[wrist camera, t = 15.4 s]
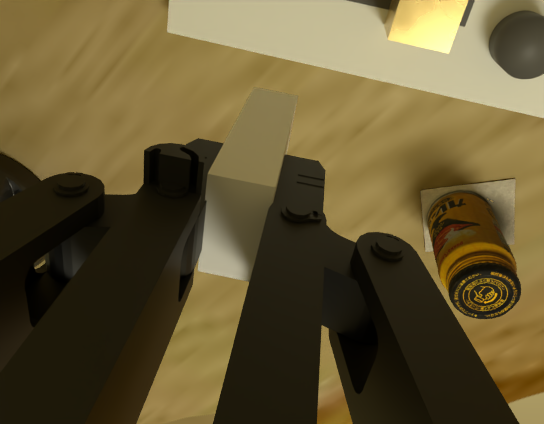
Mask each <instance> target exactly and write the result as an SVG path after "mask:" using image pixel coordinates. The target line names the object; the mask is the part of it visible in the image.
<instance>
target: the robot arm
mask: <svg viewBox="0 0 544 424" xmlns="http://www.w3.org/2000/svg"><path fill="white" fill-rule="evenodd" d="M297 98H298V96H297V95H292V94H287V93H282V92H277V91H272V90H267V89H262V88H256V87H254V88H253V90H252V92H251V94H250V96H249V97H248V99H247V101H246V103H245V105H244V107H243V109H242V110H241V112H240V114H239V116H238V118H237V120H236V122H235V124H234V125H233V127H232V129H231V131H230V133H229V135H228V137H227V138H226V140H225V142H224V143H219V142H214V141H209V140H204V139H199V138H198V139H196V140H194V141H192V142H190V143H188V144H186V145H182V144H173V143H167V144H158V145H154V146H150V147H149V148H147V149H146V150H144V184H143V185H142V187H141V188H140V189H139V191H138V192H137V193H136V194H132V195H107V194H105V192H104V184H103V183H102V182H101V180H99V179H97V178H96V177H94V176H91V175H87V174H83V173H77V172H76V173H74V172H68V173H64V174H57V175H54V176H51V177H49V178H46V179H44V180H42V181H39V180H38V179H37V178H36V177H35V176H34V175H33V174H32V173H31V172H30V171H28V170H27V169H26V168H25V167H23V166H22V165H20V164H19V163H17V162H15V161H13V160H12V159H10V158H8V157H5V156H3V155H1V154H0V424H136V423H137V420H138V418H139V415H140V413H141V410H142V408H143V405H144V403H145V401H146V398H147V396H148V393H149V391H150V388H151V386H152V383H153V381H154V378H155V376H156V373H157V371H158V369H159V366H160V364H161V361H162V359H163V356H164V354H165V351H166V349H167V346H168V344H169V342H170V339H171V337H172V334H173V332H174V329H175V327H176V324H177V322H178V319H179V317H180V314H181V312H182V310H183V307H184V305H185V302H186V300H187V297H188V295H189V292H190V290H191V287H192V285H193V276H194V268H195V265H196V263H197V261H198V258H199V264H198V271H200V272H205V273H210V274H215V275H220V276H225V277H229V278H234V279H239V280H244V281H249V286H248V290H247V294H246V297H245V301H244V305H243V309H242V313H241V317H240V321H239V325H238V328H237V332H236V336H235V340H234V344H233V348H232V352H231V356H230V359H229V363H228V367H227V371H226V375H225V379H224V383H223V387H222V390H221V394H220V398H219V402H218V406H217V410H216V414H215V418H214V422H213V424H317V407H318V386H319V366H320V345H321V325H323V326H325V327H327V328H329V340H330V343H331V347H332V350H333V354H334V358H335V361H336V365H337V368H338V372H339V375H340V379H341V383H342V386H343V390H344V393H345V397H346V401H347V404H348V408H349V411H350V415H351V419H352V422H353V424H519V422H518V421H517V419H516V418H515V416H514V414H513V412H512V411H511V409H510V408H509V406H508V404H507V402H506V401H505V399H504V397H503V396H502V394H501V392H500V391H499V389H498V387H497V386H496V384H495V382H494V381H493V379H492V377H491V376H490V374H489V372H488V371H487V369H486V367H485V366H484V364H483V362H482V361H481V359H480V357H479V356H478V354H477V352H476V351H475V349H474V347H473V346H472V344H471V342H470V341H469V339H468V337H467V335H466V334H465V332H464V330H463V329H462V327H461V325H460V324H459V322H458V320H457V319H456V317H455V315H454V314H453V312H452V310H451V309H450V307H449V305H448V304H447V302H446V300H445V299H444V297H443V295H442V294H441V292H440V290H439V289H438V287H437V285H436V284H435V282H434V280H433V279H432V277H431V275H430V274H429V272H428V270H427V269H426V267H425V265H424V264H423V262H422V260H421V259H420V257H419V255H418V254H417V252H416V251H415V250H414V249H413V248H412V246H411V245H410V244H408V243H407V242H405V241H403V240H402V239H400V238H399V237H396V236H393V235H391V234H387V233H380V232H371V233H366V234H364V235H361V236H360V237H359V239H358V240H357V242H356V243H355V242H353V241H350V240H348V239H346V238H344V237H342V236H340V235H338V234H336V233H335V232H333V231H332V230H331V229H330V228H329V227H328V226H327V225H326V217H325V214H324V213H323V202H324V184H325V169H324V168H323V167H322V165H321V164H320V162H319V161H315V160H310V159H305V158H300V157H295V156H290V155H287V149H288V144H289V139H290V134H291V129H292V124H293V119H294V114H295V108H296V103H297ZM44 260H45V261H46V263H45V264H44V265H42V266H41V267H40V268H37V269H35V268H34V267H36V266H37V265H39V264H40V263H41V262H43V261H44Z"/></svg>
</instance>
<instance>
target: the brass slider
mask: <svg viewBox="0 0 544 424" xmlns="http://www.w3.org/2000/svg"><path fill="white" fill-rule="evenodd" d="M467 3H468V0H391V3H390V7H389V10H388V14H387V17H386V20H385V24H384V28H385V32H386V35H387V39H388V40H391V41H395V42H400V43H404V44H409V45H413V46H418V47H422V48H426V49H431V50H435V51H440V52H444V53H449V51H450V48H451V45H452V43H453V40H454V37H455V35H456V32H457V30H458V27H459V24H460V22H461V19H462V16H463V14H464V11H465V8H466V6H467Z"/></svg>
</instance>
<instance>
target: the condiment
mask: <svg viewBox="0 0 544 424" xmlns="http://www.w3.org/2000/svg"><path fill="white" fill-rule="evenodd" d="M420 193H421V204H422V217H423V228H424V239H425V250H426V252H430V251H434V255H435V260H436V263H437V267H438V273H439V277H440V279H441V282H442V284H443V286H444V287H445V288H446V289H447V291H448V293H449V297H450V300H451V302H452V303H453V305H454V307H455V308H456V309H457V310H459V311H460V312H461V313H463V314H464V315H466V316H469V317H472V318H477V319H492V318H496V317H500V316H502V315H504V314H506V313H507V312H508V311H509V310H510V309H512V308H513V307H514V306H515V304H516V303H517V302H518V301H519V299H520V295H521V284H520V281H519V279H518V277H517V274H516V271H517V268H516V262H515V259H514V257H513V254H512V252H511V250H510V248H509V246H508V245H511V244H514V211H515V208H514V205H515V179H510V180H503V181H495V182H487V183H480V184H468V185H458V186H451V187H442V188H436V189H427V190H422V191H420ZM487 198H488V199H489V200H487ZM490 200H493V202H491V201H490Z"/></svg>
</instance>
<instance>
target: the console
mask: <svg viewBox="0 0 544 424" xmlns="http://www.w3.org/2000/svg"><path fill="white" fill-rule="evenodd" d="M390 3H391V0H169V10H168V27H167V32H169V33H173V34H177V35H182V36H186V37H191V38H195V39H199V40H204V41H208V42H212V43H217V44H221V45H226V46H230V47H234V48H239V49H243V50H248V51H252V52H256V53H261V54H265V55H269V56H274V57H278V58H283V59H287V60H291V61H296V62H300V63H304V64H309V65H313V66H318V67H322V68H326V69H331V70H335V71H340V72H344V73H348V74H353V75H357V76H361V77H366V78H370V79H375V80H379V81H383V82H388V83H392V84H396V85H401V86H405V87H410V88H414V89H418V90H423V91H427V92H432V93H436V94H440V95H445V96H449V97H453V98H458V99H462V100H467V101H471V102H475V103H480V104H484V105H488V106H493V107H497V108H502V109H506V110H510V111H515V112H519V113H524V114H528V115H532V116H537V117H541V118H544V0H468V3H467V6H466V8H465V11H464V14H463V16H462V19H461V22H460V24H459V27H458V30H457V32H456V35H455V37H454V40H453V43H452V45H451V48H450V51H449V53H444V52H440V51H435V50H431V49H426V48H422V47H418V46H413V45H409V44H404V43H400V42H395V41H391V40H388V39H387V35H386V32H385V28H384V24H385V20H386V17H387V14H388V10H389V7H390Z"/></svg>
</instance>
